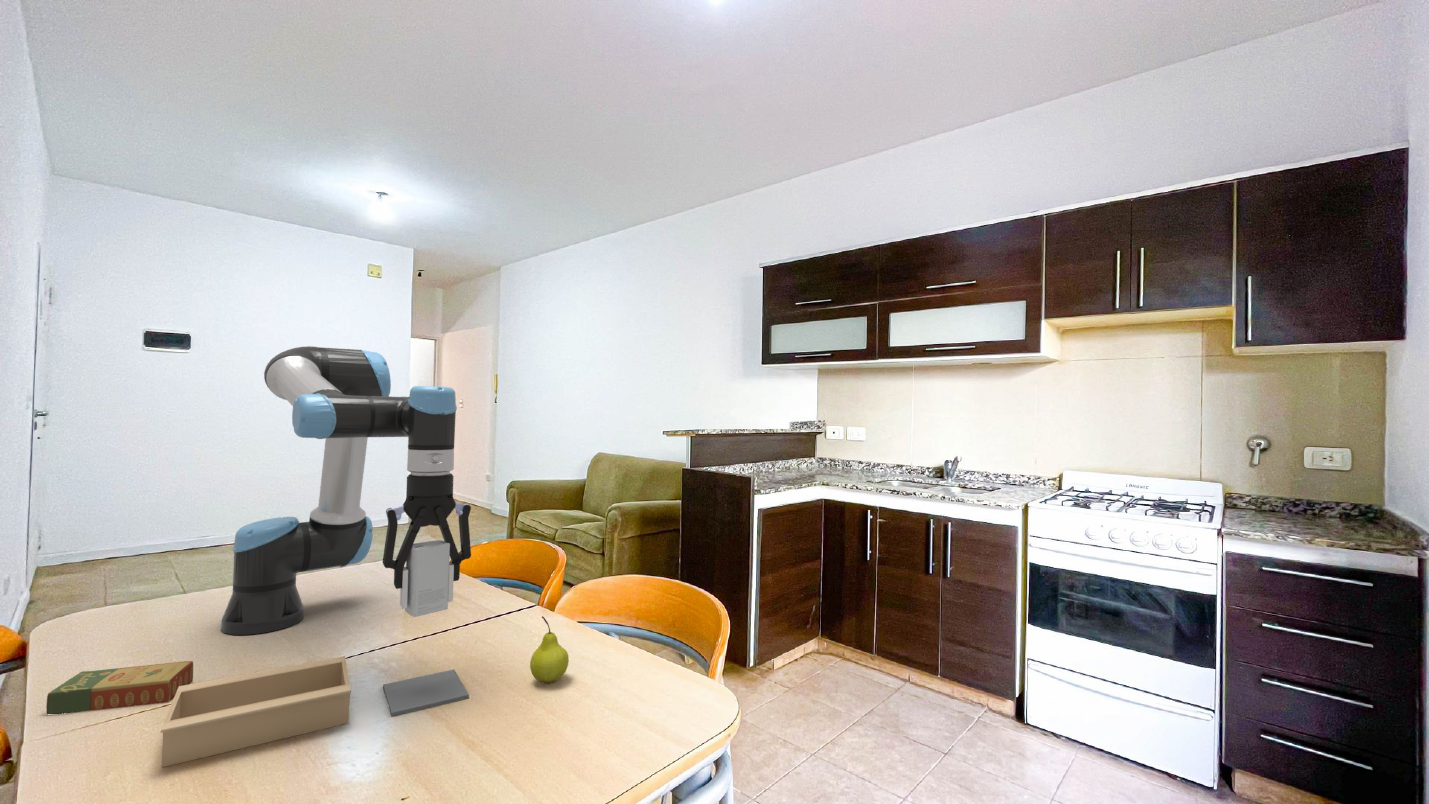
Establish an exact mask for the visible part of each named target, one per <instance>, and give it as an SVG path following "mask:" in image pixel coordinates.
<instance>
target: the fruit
mask: <svg viewBox="0 0 1429 804" xmlns="http://www.w3.org/2000/svg"><path fill="white" fill-rule="evenodd" d="M541 618H542V619H543V621H544V623H546V625H547V627H548V632H546V633H545V634H544V635H543V637H542V641H541V644H539V646H538V647H537V648H535V651H534V652H533V653H532V656H531V658H530V661H529V663H530V664H529V668H530V672H531V675H532V677H533V678H534V679H535V680H537V682H540V683H542V684H544V685H549V684H553V683H555V682H556V681H558V680H559V679H560V678H561V677H562V676H564V675H565V673H566V672H567V669H568V666H569V662H570V661H569V658H570V657H569V653H568V651H567V650H566V649H565V648H564V647H563V646H562V645H560V644H559V642H558V637H557V636H556V634H555V632H552V631H551V628H550V625H549V622H548V621H547V619H546V618H545V617H544V615H543V616H541Z"/></svg>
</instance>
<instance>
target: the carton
mask: <svg viewBox="0 0 1429 804" xmlns="http://www.w3.org/2000/svg"><path fill="white" fill-rule="evenodd" d="M193 679H194V661H193V660H188V661H187V660H186V661H176V662H168V663H167V662H166V663H157V664H149V665H148V664H146V665H137V666H129V667H127V666H125V667H118V668H117V667H116V668H106V669H97V670H87V671H83V670H82V671H79V672H78V673H77V674H76V675H74V676H73V677H71V678H70V679H68V680H67V681H65V682H63V683H62V684H60V685H59V686H57V687H55V688H53V689H52V690H50V691H49V692H48V693H47V696H46V715H47V714H58V715H64V713H66V714H73V713H85V712H90V711H100V710H109V709H110V710H111V709H118V708H119V709H120V708H128V707H129V708H130V707H137V706H139V707H140V706H147V705H148V706H149V705H155V704H163V703H164V704H166V703H170V702H171V701H173V699H174V697H175V694H176V692H177V689H178V687H179V686H184V685H189V684H193V681H194V680H193ZM62 713H63V714H62Z"/></svg>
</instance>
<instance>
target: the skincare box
mask: <svg viewBox="0 0 1429 804" xmlns="http://www.w3.org/2000/svg"><path fill="white" fill-rule="evenodd" d="M449 552H450V543H446V542H445V541H444V540H442V539H438V540H431V541H430V540H428V541H424V542H423V541H422V542H417V543H415V542H414V543H413V546H412V548H411V550H410V553H409V555H408V558H407V560H406V563H405V567H406V568H407V569H408V593H407V608H404V612H405V613H407V614H408V615H410V616H411V617H413V618H416V617H421V616H425V615H429V614H433V613H438V612H441V611H446V610H448V609H449V602H448V588H449V562H450V554H449Z"/></svg>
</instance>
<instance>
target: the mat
mask: <svg viewBox="0 0 1429 804" xmlns="http://www.w3.org/2000/svg"><path fill="white" fill-rule="evenodd" d="M382 688H383V692H384V696H385V699H386V703H387V706H388V710H389V713H390V716H391V718H393V717H396V716H400V715H404V714H409V713H414V712H417V711H422V710H425V709H429V708H434V707H437V706H443V705H446V704H449V703H450V704H451V703H454V702H458V701H462V700H466V699H470V694H469V692H468V690H467V688H466V687H465V685H464V683H463V681H462V680H461V678H460V676H459V675H458V674H457V672H456V670H455V669H449V670H444V671H440V672H435V673H430V674H425V675H422V676H417V677H411V678H406V679H402V680H397V681H392V682H388V683H384V684H382Z"/></svg>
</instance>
